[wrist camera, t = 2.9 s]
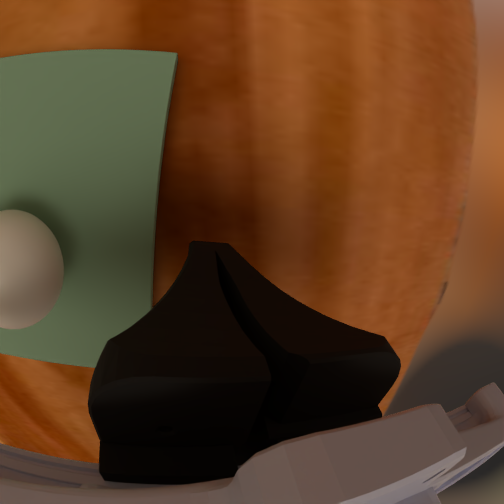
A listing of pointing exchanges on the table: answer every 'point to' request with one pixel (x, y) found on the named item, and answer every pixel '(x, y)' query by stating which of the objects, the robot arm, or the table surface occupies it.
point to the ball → (27, 269)
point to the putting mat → (86, 186)
